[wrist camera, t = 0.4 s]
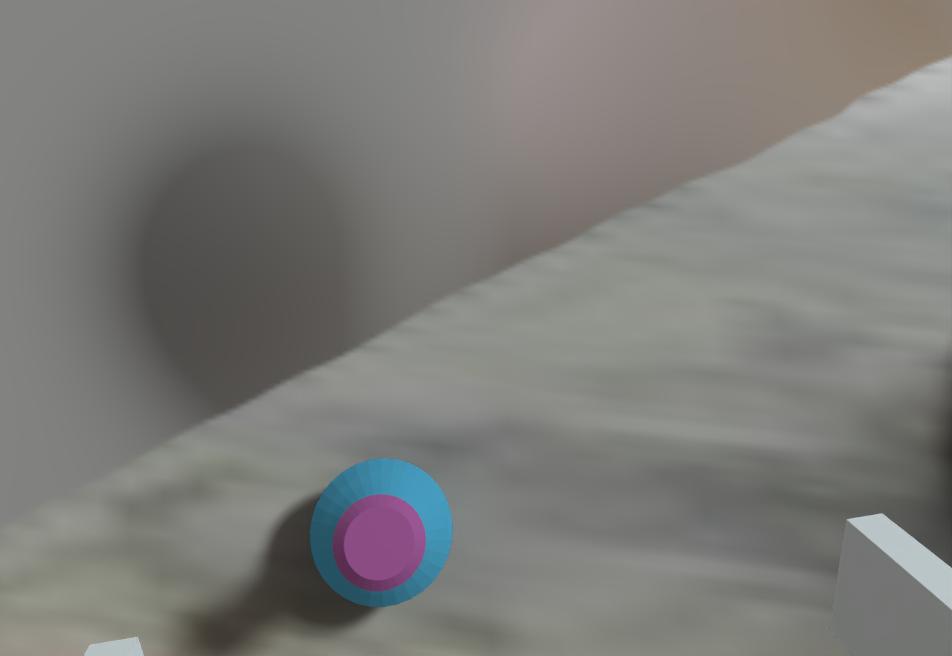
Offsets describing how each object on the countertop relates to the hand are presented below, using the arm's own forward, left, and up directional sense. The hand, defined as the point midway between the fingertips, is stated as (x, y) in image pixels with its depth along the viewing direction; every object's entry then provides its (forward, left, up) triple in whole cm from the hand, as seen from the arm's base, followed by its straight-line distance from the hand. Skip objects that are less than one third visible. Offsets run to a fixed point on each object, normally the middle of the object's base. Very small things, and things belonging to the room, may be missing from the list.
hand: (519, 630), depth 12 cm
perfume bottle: (+2, +2, -35) cm, 35 cm away
